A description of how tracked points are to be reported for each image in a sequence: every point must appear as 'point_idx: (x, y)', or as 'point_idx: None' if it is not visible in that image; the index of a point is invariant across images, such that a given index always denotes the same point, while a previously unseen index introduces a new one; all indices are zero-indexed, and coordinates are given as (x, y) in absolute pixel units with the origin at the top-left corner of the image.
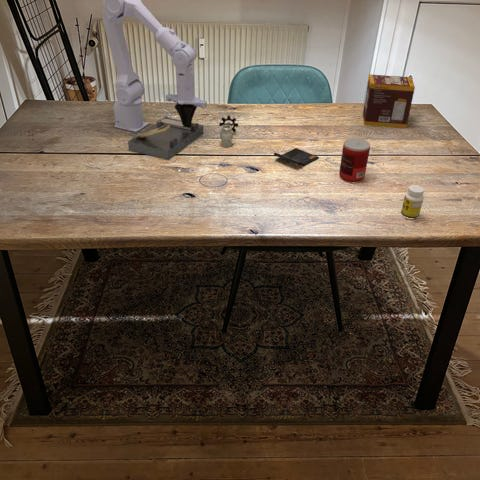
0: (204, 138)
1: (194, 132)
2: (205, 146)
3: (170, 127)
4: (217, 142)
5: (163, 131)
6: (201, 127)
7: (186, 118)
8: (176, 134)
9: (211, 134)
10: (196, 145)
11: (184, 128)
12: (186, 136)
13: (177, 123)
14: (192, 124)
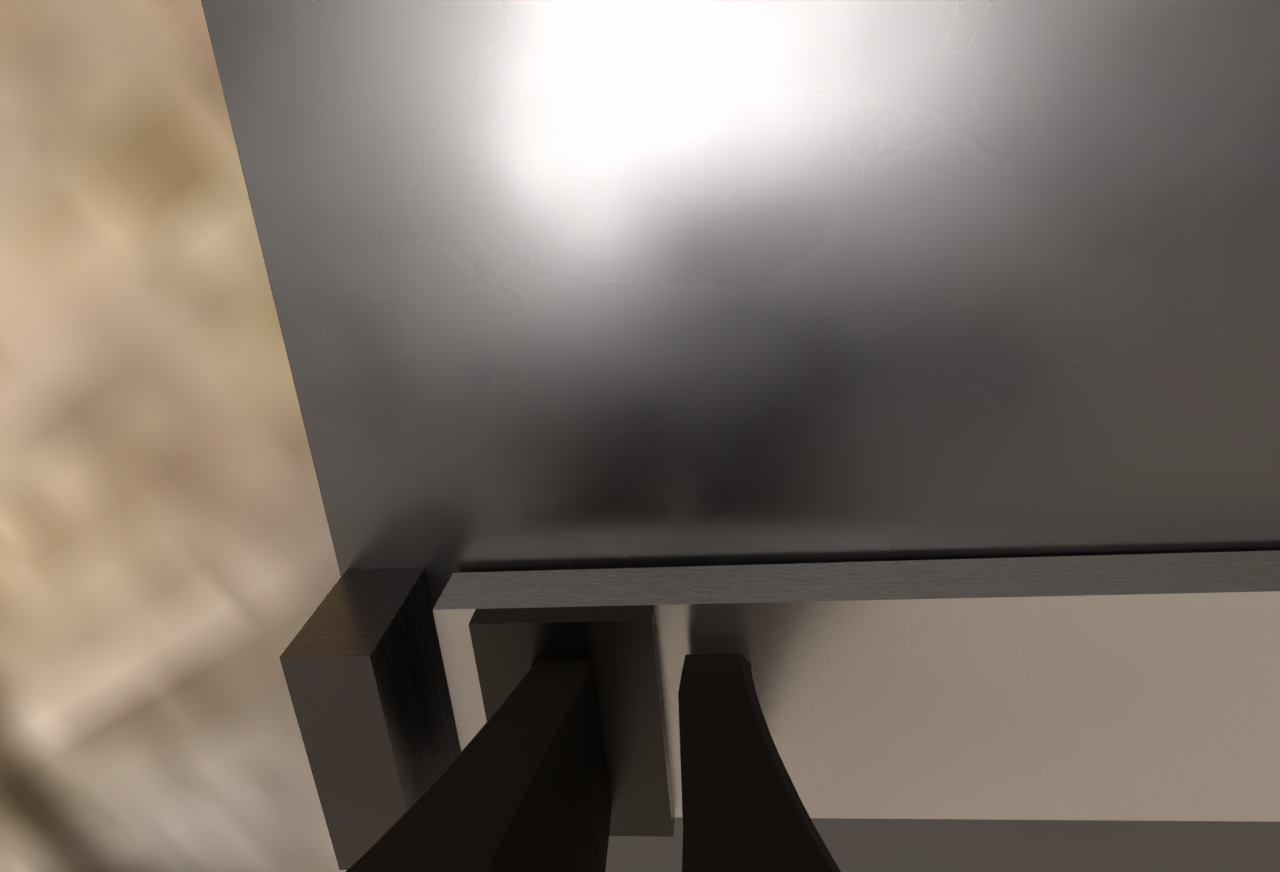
0: None
1: (340, 544)
2: (37, 316)
3: (1105, 472)
4: (18, 585)
5: (1187, 78)
6: None
7: (493, 822)
8: (638, 124)
9: None
10: (208, 254)
11: (654, 574)
12: (286, 174)
13: (975, 699)
14: None
